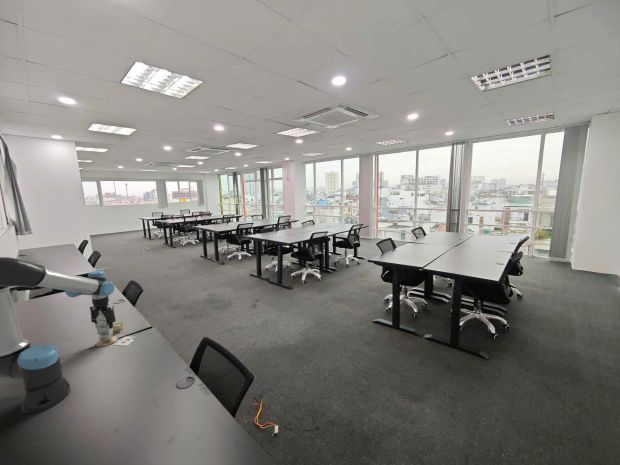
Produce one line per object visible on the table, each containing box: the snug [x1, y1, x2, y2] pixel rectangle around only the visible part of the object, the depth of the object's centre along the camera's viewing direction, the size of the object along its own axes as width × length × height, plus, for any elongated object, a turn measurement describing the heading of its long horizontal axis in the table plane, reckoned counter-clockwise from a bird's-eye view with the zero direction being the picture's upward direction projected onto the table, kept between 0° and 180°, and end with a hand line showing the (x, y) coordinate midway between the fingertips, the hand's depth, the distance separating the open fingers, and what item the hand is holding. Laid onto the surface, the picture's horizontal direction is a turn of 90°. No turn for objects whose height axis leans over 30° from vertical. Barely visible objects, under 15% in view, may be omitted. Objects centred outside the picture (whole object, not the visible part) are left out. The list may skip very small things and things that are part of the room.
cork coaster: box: [95, 336, 118, 348], centre depth 154 cm, size 10×10×1 cm
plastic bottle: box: [96, 310, 114, 342], centre depth 152 cm, size 6×7×20 cm
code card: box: [113, 336, 135, 347], centre depth 155 cm, size 9×9×1 cm
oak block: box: [113, 321, 124, 335], centre depth 166 cm, size 5×5×5 cm
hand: (105, 332), depth 153 cm, fingers closed on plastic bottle, 6 cm apart
